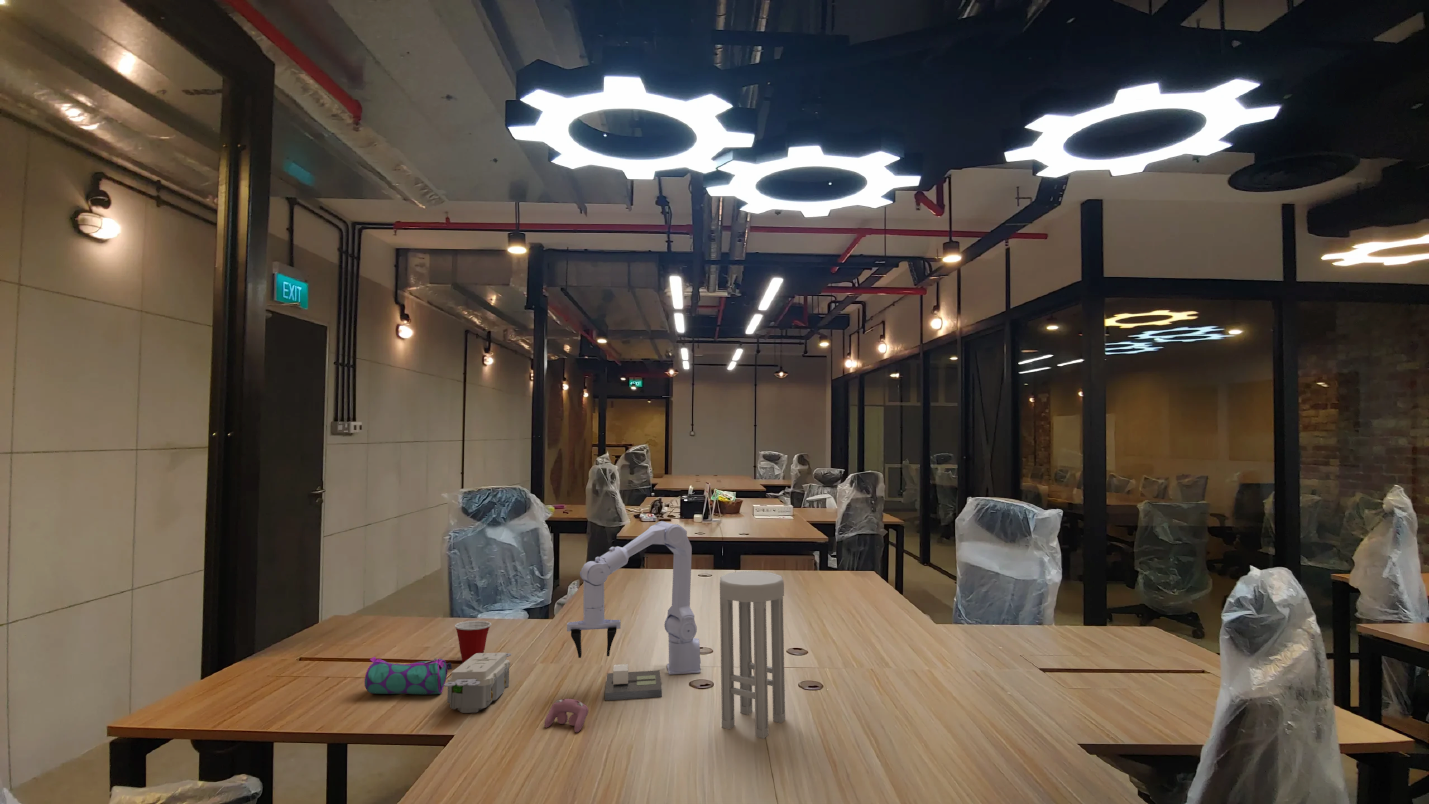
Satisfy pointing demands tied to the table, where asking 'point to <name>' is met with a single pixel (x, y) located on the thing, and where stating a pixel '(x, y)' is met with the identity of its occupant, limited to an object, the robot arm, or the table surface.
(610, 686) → the breaker panel
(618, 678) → the lever
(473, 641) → the plastic cup
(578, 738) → the table surface
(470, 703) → the electrical outlet
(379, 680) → the pencil case
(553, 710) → the video game controller
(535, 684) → the table surface
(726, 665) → the stool
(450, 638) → the table surface
